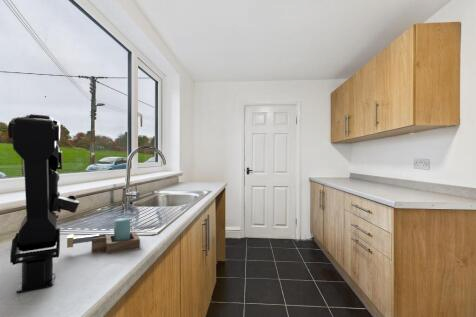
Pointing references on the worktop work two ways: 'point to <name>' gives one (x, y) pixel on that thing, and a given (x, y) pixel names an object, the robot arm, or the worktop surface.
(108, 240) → the dock
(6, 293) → the worktop surface
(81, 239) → the lock bolt
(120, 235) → the peg
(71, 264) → the worktop surface
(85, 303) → the worktop surface
